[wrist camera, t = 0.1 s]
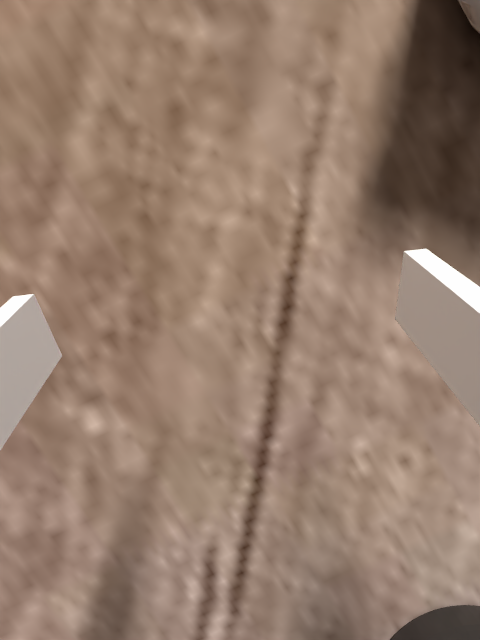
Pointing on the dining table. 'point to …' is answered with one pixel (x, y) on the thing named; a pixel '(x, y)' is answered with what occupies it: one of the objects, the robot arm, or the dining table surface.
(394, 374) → the dining table surface
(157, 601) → the dining table surface
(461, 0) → the chamber pot
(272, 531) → the dining table surface
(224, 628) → the dining table surface
